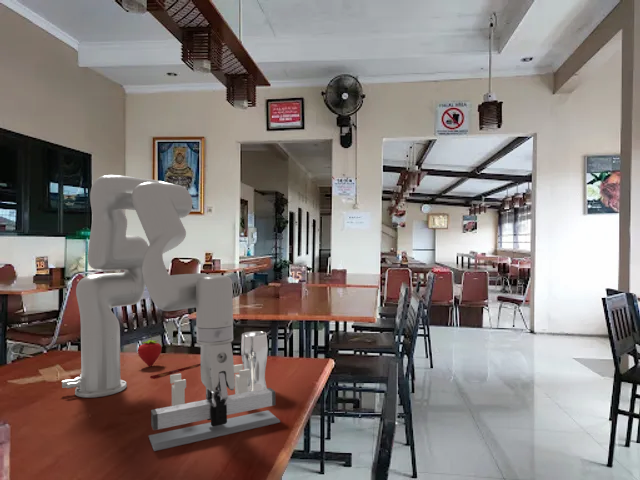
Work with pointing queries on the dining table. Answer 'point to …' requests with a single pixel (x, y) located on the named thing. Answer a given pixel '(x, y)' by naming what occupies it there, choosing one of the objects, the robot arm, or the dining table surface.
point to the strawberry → (149, 351)
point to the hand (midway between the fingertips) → (216, 420)
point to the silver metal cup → (255, 358)
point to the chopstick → (173, 371)
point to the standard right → (241, 379)
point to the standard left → (178, 389)
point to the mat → (211, 430)
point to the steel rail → (203, 408)
